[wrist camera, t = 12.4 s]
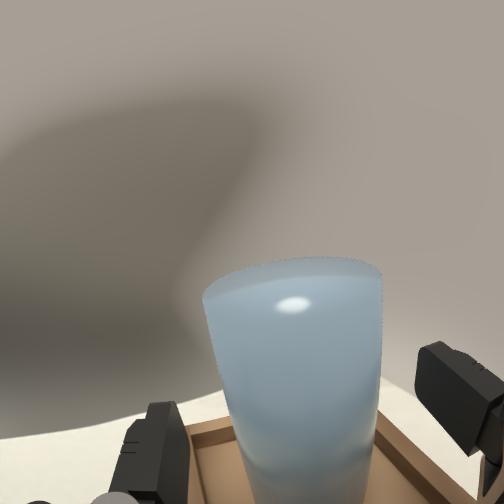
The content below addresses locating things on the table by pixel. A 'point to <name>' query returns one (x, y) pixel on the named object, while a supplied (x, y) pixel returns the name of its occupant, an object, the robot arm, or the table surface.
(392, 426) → the tray
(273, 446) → the pale blue cylinder
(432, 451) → the table surface
